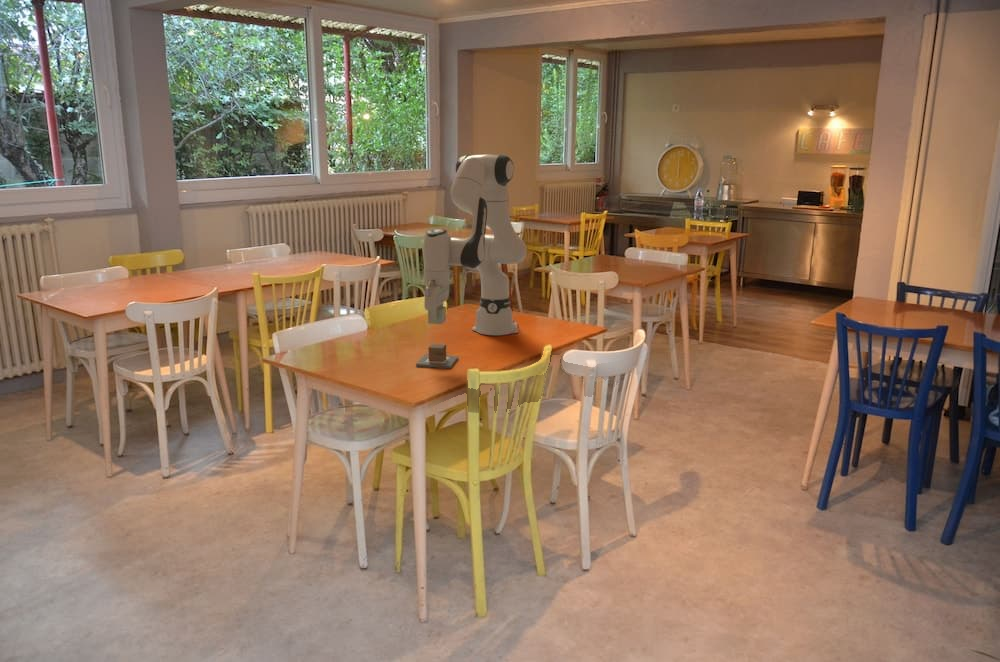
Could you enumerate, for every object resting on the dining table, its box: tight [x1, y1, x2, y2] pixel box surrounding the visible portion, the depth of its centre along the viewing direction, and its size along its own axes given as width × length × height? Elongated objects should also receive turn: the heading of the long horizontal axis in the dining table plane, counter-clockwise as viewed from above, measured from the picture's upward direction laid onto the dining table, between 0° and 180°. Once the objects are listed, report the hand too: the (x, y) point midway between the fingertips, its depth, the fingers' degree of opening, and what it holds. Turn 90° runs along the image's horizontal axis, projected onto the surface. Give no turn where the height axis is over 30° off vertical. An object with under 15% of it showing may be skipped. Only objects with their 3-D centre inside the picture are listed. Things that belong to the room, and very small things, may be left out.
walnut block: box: [428, 343, 447, 362], centre depth 271 cm, size 5×5×5 cm
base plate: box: [415, 353, 459, 369], centre depth 272 cm, size 12×12×1 cm
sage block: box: [427, 306, 447, 325], centre depth 268 cm, size 5×5×5 cm
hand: (436, 317), depth 268 cm, fingers closed on sage block, 5 cm apart
